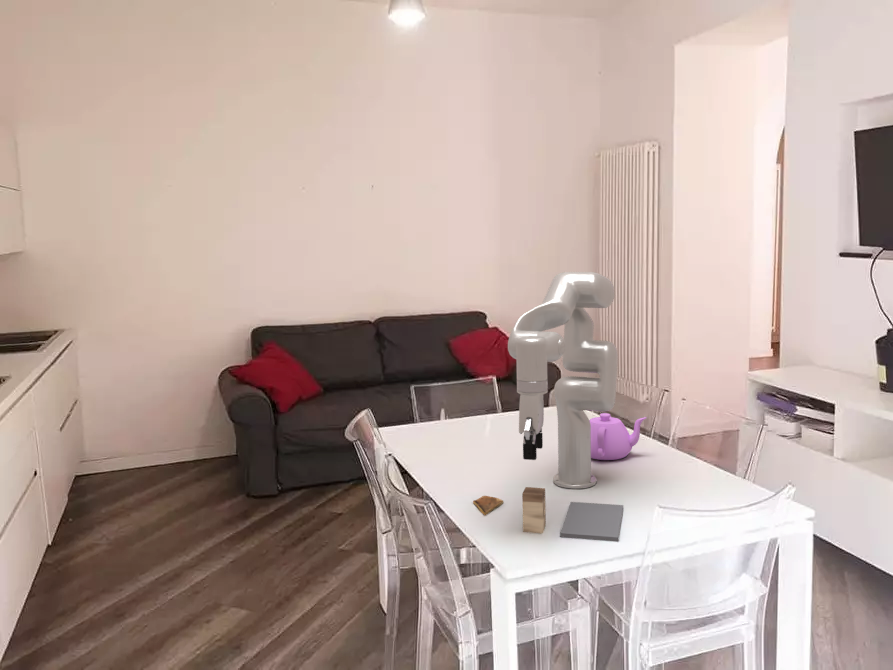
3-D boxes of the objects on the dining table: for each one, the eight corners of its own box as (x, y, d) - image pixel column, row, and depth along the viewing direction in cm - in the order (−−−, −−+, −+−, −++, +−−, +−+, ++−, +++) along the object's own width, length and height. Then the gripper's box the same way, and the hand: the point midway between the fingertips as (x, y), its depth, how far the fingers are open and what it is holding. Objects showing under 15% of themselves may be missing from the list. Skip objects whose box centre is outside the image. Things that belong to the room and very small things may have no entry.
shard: (485, 518, 213) (484, 511, 213) (460, 513, 217) (460, 506, 217) (504, 505, 222) (504, 498, 222) (480, 500, 226) (480, 494, 226)
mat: (570, 505, 219) (570, 501, 219) (623, 508, 215) (623, 505, 215) (560, 536, 198) (560, 533, 198) (618, 541, 194) (618, 537, 194)
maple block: (526, 524, 207) (525, 487, 205) (545, 525, 206) (545, 488, 204) (522, 531, 202) (522, 493, 201) (542, 533, 201) (542, 494, 199)
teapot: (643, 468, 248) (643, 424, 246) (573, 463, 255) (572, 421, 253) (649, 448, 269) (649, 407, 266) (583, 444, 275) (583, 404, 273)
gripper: (523, 378, 207) (524, 443, 210) (510, 393, 191) (511, 463, 193) (552, 379, 205) (552, 444, 208) (542, 394, 189) (542, 464, 191)
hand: (533, 453), depth 201 cm, fingers open, 9 cm apart
